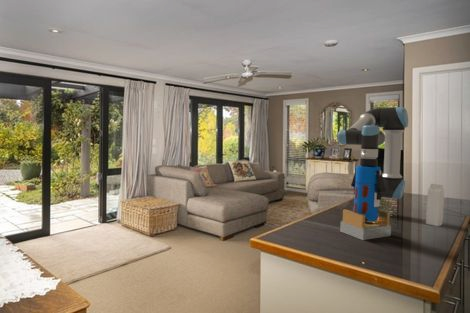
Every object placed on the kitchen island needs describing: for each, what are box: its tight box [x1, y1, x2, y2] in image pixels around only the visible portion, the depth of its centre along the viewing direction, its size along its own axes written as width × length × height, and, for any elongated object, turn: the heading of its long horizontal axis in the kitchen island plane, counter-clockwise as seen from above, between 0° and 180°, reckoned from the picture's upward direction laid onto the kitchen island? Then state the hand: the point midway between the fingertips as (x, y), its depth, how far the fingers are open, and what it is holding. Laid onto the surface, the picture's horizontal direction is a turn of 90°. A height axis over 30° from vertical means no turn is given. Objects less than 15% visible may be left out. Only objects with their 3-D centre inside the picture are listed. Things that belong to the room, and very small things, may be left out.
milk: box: [425, 183, 445, 227], centre depth 171 cm, size 6×6×22 cm
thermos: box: [353, 164, 382, 221], centre depth 149 cm, size 11×11×25 cm
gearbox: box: [339, 208, 392, 241], centre depth 150 cm, size 14×18×11 cm
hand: (366, 203), depth 150 cm, fingers closed on thermos, 11 cm apart
